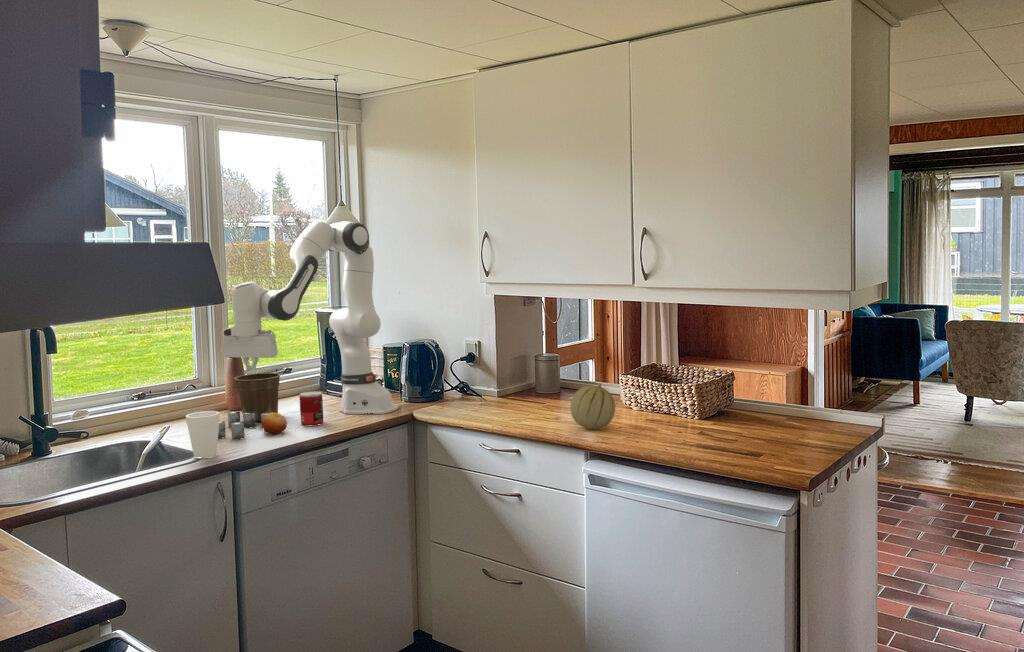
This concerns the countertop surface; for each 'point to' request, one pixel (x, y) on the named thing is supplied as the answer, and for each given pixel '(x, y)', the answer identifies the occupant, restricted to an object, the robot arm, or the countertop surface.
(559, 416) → the countertop surface
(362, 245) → the robot arm
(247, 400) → the plant pot
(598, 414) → the cantaloupe
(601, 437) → the countertop surface
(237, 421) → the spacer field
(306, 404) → the canned food
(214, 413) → the foam cup
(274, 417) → the fruit
